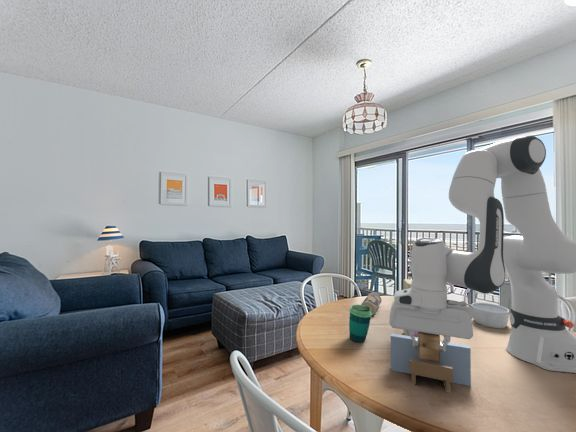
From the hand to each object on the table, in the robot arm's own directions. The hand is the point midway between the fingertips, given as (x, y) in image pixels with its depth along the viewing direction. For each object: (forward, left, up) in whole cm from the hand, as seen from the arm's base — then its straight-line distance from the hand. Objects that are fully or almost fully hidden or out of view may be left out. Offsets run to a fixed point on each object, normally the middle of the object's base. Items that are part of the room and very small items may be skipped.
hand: (428, 348), depth 74 cm
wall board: (0, 0, -9) cm, 9 cm away
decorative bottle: (+22, -53, -10) cm, 58 cm away
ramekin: (-28, -57, -9) cm, 64 cm away
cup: (+21, -19, -9) cm, 30 cm away
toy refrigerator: (+2, -29, -9) cm, 31 cm away
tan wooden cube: (0, 0, -3) cm, 3 cm away
